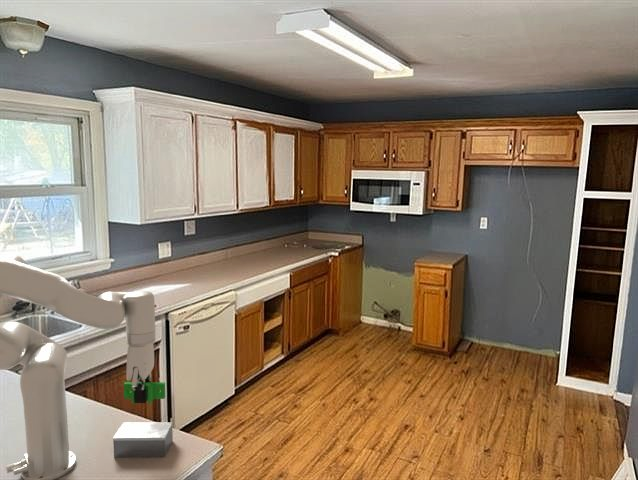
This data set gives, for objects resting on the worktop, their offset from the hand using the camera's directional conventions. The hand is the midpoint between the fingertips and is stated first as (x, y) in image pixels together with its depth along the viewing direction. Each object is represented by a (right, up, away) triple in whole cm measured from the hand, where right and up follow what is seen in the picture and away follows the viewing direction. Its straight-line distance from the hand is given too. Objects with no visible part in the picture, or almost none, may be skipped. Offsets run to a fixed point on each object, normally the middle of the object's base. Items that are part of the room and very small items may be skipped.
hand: (143, 397), depth 131 cm
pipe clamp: (0, -1, 0) cm, 1 cm away
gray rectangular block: (-1, -15, +2) cm, 16 cm away
